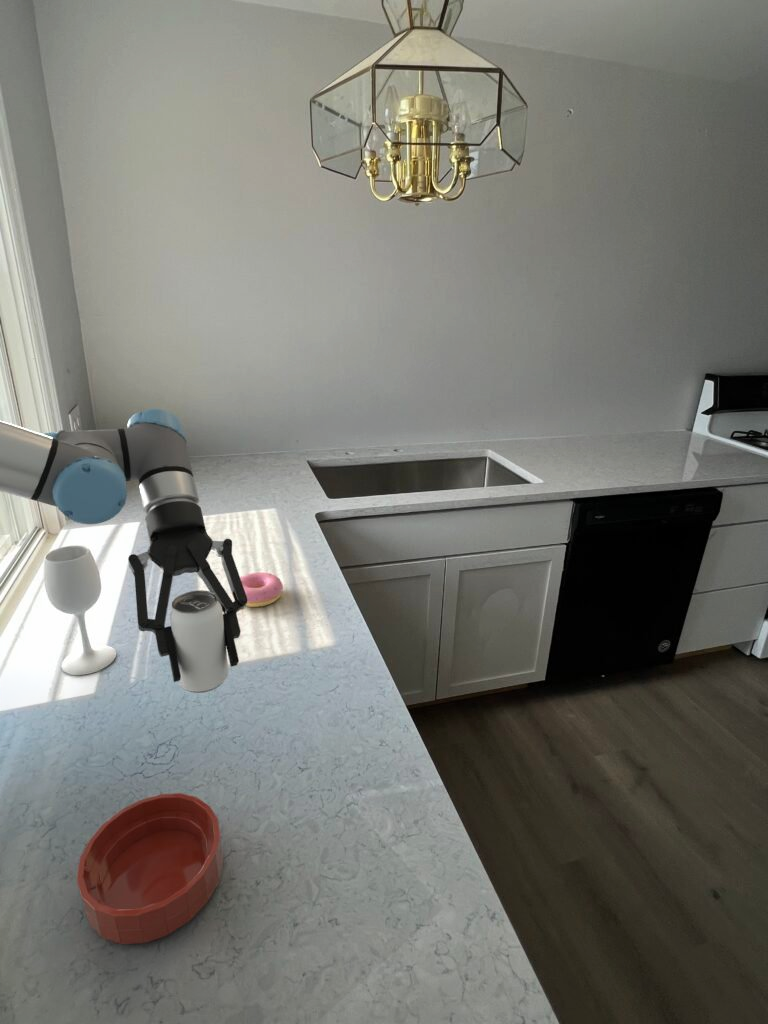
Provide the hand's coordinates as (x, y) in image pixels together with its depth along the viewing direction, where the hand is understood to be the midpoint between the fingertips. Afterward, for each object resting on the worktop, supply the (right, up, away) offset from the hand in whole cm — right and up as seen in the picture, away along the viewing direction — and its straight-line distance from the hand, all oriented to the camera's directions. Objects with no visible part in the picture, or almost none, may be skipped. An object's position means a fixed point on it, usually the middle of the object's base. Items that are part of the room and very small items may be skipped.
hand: (206, 671), depth 71 cm
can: (-2, -2, +4) cm, 5 cm away
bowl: (-3, -21, -9) cm, 23 cm away
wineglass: (-30, -6, +28) cm, 41 cm away
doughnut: (-5, +2, +50) cm, 50 cm away
